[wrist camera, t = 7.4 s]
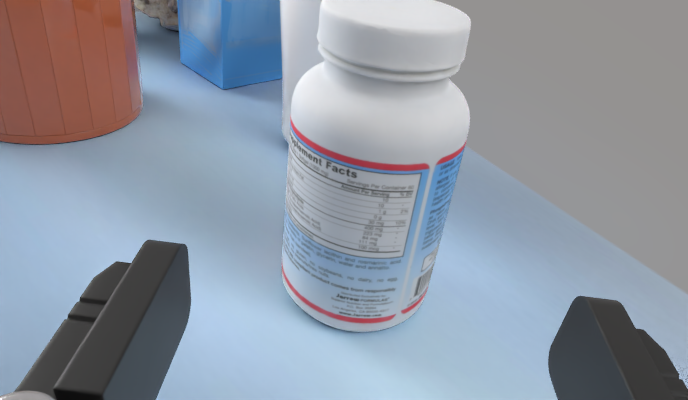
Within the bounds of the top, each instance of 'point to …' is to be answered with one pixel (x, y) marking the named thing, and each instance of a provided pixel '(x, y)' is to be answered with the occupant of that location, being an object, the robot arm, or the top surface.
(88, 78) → the orange flower pot
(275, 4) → the perfume bottle
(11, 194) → the top surface
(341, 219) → the pill bottle
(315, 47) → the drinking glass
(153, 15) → the rock
